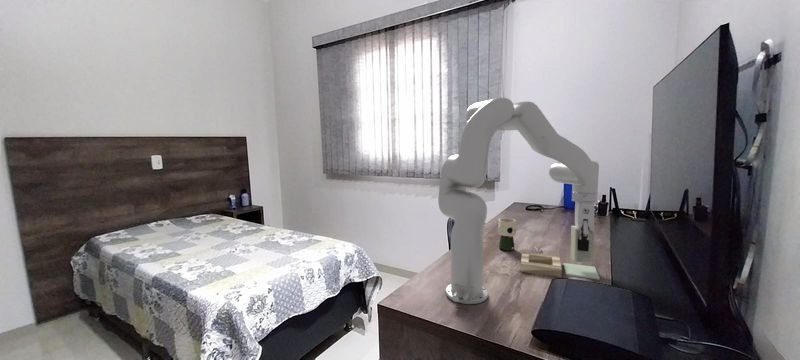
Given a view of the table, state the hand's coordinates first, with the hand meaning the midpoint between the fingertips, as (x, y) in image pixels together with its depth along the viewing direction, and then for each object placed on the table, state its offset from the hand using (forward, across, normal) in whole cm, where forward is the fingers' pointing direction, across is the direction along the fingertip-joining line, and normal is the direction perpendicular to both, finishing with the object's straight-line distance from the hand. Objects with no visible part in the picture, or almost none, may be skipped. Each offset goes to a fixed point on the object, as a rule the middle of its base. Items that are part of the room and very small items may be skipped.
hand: (581, 247), depth 109 cm
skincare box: (+5, 0, 0) cm, 5 cm away
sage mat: (+9, 0, 0) cm, 9 cm away
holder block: (+9, -1, +13) cm, 16 cm away
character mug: (+9, +15, +26) cm, 31 cm away
